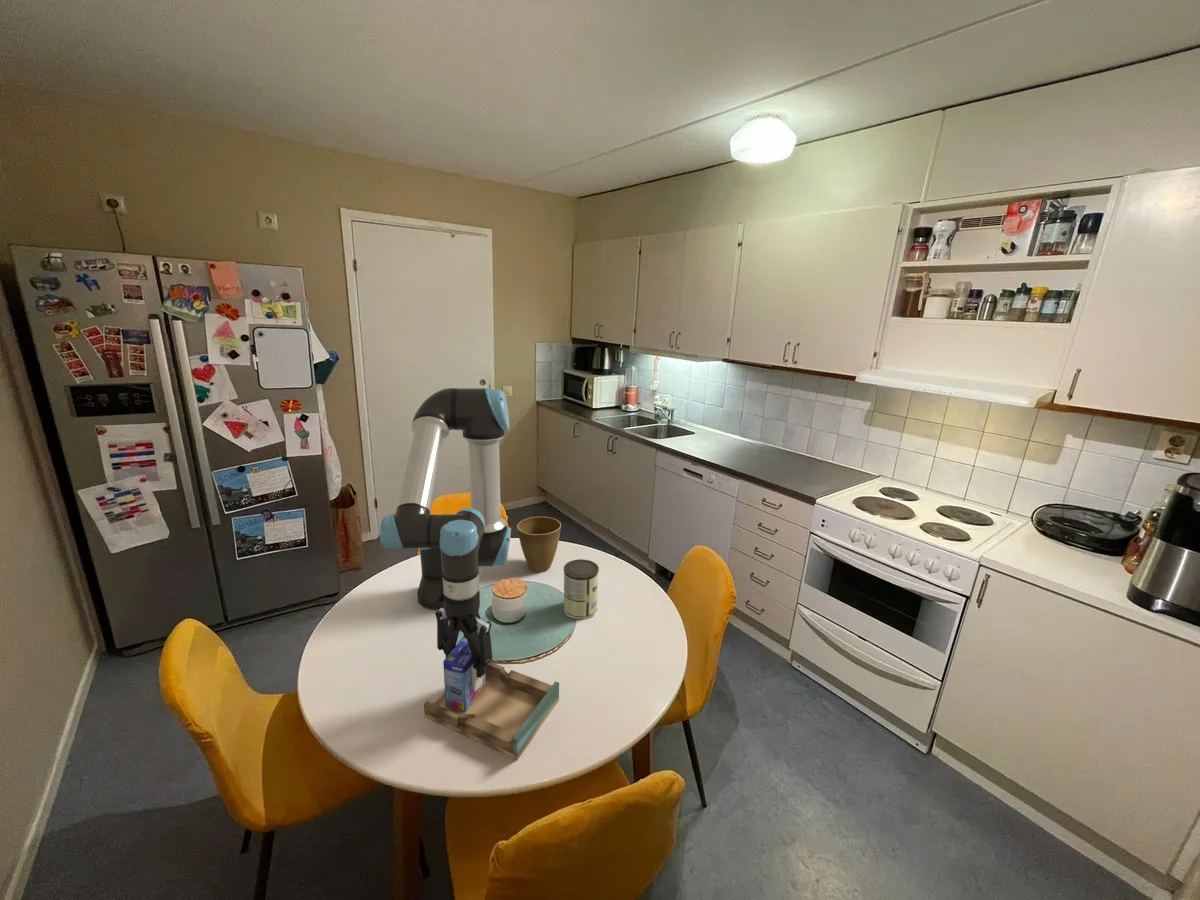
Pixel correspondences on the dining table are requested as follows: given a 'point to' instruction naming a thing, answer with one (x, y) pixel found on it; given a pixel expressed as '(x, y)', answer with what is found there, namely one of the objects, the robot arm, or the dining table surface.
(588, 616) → the coffee can
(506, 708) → the channel
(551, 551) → the plant pot
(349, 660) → the dining table surface
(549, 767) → the dining table surface
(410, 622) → the dining table surface
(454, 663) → the ink cartridge box
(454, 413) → the robot arm
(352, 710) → the dining table surface
